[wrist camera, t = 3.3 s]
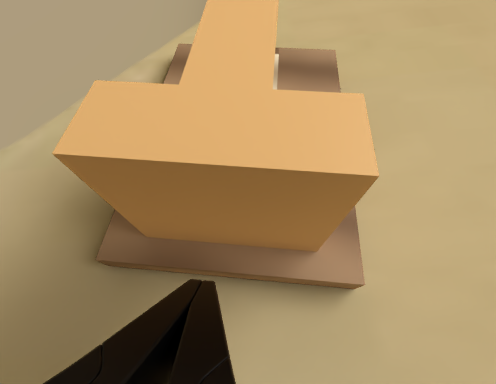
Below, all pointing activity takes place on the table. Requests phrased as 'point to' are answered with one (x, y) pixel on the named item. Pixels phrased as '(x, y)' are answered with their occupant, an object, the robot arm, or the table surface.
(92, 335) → the table surface
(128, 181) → the t block
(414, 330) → the table surface
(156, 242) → the board
